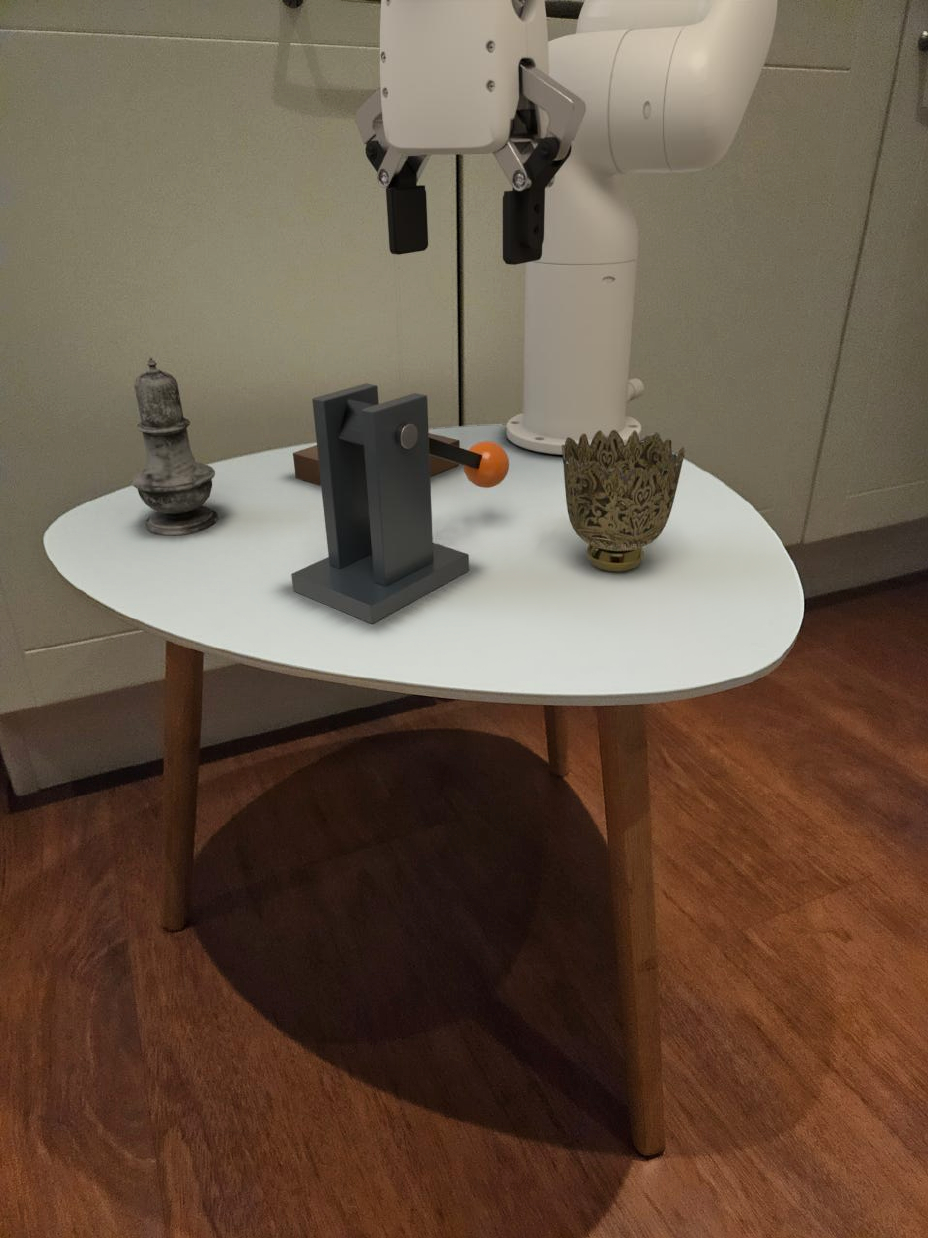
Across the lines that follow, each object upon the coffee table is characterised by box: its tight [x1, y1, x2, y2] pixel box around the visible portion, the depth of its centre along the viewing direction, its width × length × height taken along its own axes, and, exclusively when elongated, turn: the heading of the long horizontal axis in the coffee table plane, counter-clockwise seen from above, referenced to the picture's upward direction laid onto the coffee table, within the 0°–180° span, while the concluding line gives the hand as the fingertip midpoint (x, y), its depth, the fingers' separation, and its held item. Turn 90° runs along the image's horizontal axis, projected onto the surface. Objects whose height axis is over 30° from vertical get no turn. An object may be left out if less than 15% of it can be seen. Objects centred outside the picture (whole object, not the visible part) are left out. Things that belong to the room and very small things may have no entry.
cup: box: [562, 430, 686, 572], centre depth 54 cm, size 8×7×8 cm
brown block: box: [292, 432, 461, 486], centre depth 72 cm, size 11×9×4 cm
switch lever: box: [338, 399, 510, 489], centre depth 55 cm, size 15×3×3 cm, turn 141°
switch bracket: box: [290, 382, 470, 624], centre depth 52 cm, size 9×7×12 cm
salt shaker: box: [130, 357, 219, 536], centre depth 61 cm, size 6×6×12 cm
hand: (463, 256), depth 55 cm, fingers open, 9 cm apart
